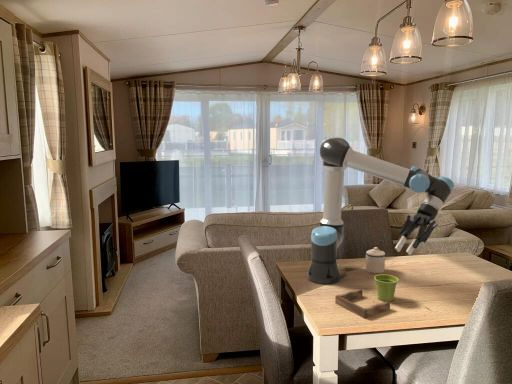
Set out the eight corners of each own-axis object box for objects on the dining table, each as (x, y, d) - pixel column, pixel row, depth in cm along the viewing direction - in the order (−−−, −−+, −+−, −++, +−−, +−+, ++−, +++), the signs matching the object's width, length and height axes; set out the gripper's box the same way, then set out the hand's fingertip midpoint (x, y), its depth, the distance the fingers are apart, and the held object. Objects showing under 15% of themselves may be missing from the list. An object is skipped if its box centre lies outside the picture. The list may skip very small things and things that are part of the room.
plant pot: (376, 292, 169) (377, 272, 167) (399, 296, 164) (400, 276, 162) (370, 300, 161) (371, 279, 159) (395, 305, 156) (395, 284, 154)
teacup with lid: (388, 272, 191) (389, 249, 190) (372, 274, 189) (373, 251, 187) (373, 264, 203) (374, 242, 201) (358, 266, 200) (359, 244, 198)
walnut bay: (360, 295, 165) (360, 288, 165) (389, 309, 152) (390, 301, 152) (335, 303, 158) (335, 295, 158) (364, 318, 145) (364, 310, 145)
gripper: (452, 217, 164) (425, 262, 158) (415, 210, 179) (389, 251, 173) (445, 206, 161) (417, 252, 155) (408, 199, 176) (381, 241, 170)
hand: (402, 251), depth 164 cm, fingers open, 5 cm apart
